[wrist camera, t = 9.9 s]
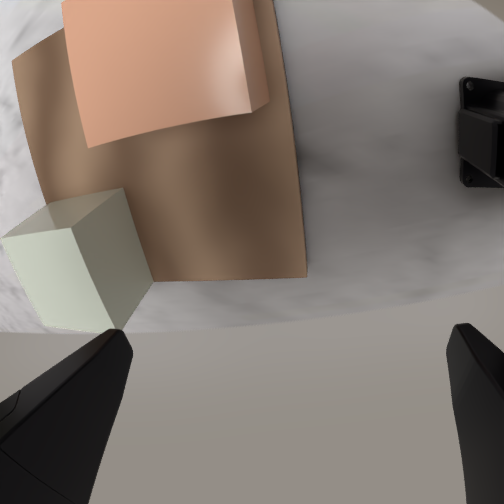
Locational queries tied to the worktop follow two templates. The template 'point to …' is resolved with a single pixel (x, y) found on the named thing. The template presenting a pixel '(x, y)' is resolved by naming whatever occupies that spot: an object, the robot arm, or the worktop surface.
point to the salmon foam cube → (161, 63)
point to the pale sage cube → (81, 262)
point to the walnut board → (180, 171)
